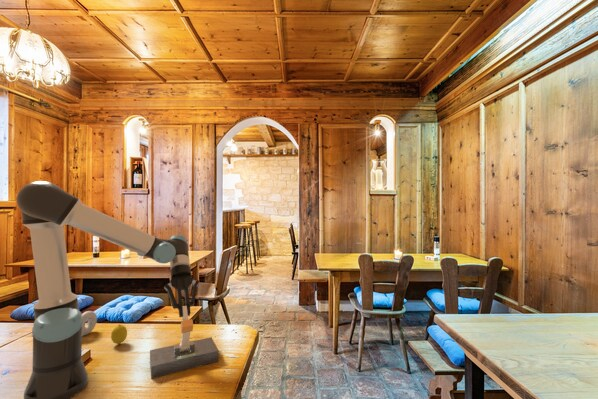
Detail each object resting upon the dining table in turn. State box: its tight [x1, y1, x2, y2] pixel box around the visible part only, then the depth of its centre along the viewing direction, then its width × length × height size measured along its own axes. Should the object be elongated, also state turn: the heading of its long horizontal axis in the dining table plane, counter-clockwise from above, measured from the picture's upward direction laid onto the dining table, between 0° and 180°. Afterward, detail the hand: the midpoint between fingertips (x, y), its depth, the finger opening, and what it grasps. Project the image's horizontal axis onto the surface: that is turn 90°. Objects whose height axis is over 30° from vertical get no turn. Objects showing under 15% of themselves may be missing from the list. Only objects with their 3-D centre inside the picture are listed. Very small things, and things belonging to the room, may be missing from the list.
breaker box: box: [149, 336, 220, 379], centre depth 106 cm, size 22×12×6 cm, turn 119°
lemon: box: [110, 324, 128, 345], centre depth 119 cm, size 6×6×8 cm
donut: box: [81, 310, 98, 337], centre depth 127 cm, size 10×4×10 cm, turn 175°
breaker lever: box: [180, 318, 194, 351], centre depth 104 cm, size 4×3×14 cm
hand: (185, 324), depth 105 cm, fingers closed
